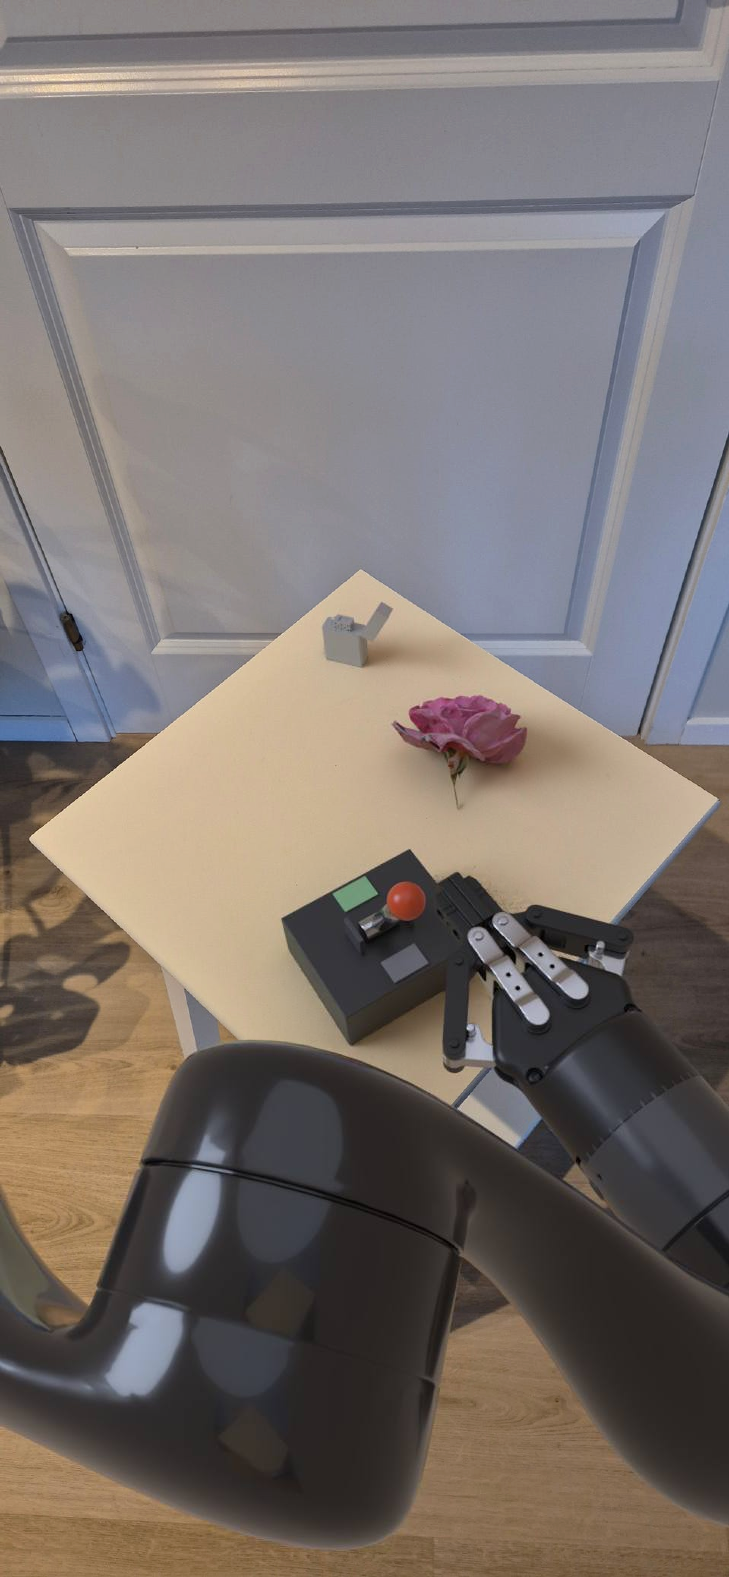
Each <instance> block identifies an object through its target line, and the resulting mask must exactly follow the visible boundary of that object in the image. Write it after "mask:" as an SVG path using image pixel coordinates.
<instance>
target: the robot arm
mask: <svg viewBox="0 0 729 1577" xmlns="http://www.w3.org/2000/svg"><path fill="white" fill-rule="evenodd" d="M434 897H435V911H436V915H437V917H438V918H439V919H440V921H441V922H442V923H443V924H444V926H445V927H446V928H447V929H448V931H449V932H450V933H451V935H452V936H453V937H454V938H455V940H456V941H457V942H458V943H459V945H460V946H461V947H460V948H459V950H458V951H455V952H453V953H451V954H450V955H449V957H448V961H447V977H446V989H445V994H444V1008H443V1010H444V1012H443V1027H442V1039H441V1040H442V1041H441V1043H442V1044H441V1045H442V1046H441V1047H442V1048H441V1049H442V1065H443V1067H444V1069H445V1070H446V1071H447V1072H449V1073H450V1074H458V1073H461V1072H462V1071H463V1070H464V1069H465V1067H470V1068H482V1069H483V1068H484V1069H493V1071H494V1072H495V1074H496V1075H497V1077H498V1078H499V1079H501V1080H502V1081H503V1082H505V1083H508V1084H510V1085H512V1086H513V1087H515V1088H516V1089H518V1090H519V1091H520V1092H521V1094H523V1095H524V1096H525V1098H526V1099H527V1101H528V1102H529V1104H530V1105H531V1106H532V1107H533V1109H534V1110H535V1112H536V1113H537V1114H538V1116H539V1117H540V1118H541V1119H542V1120H543V1122H544V1124H545V1125H546V1126H547V1127H548V1129H549V1130H550V1131H551V1132H552V1134H553V1135H554V1137H555V1138H556V1139H557V1140H558V1142H559V1143H560V1144H561V1146H562V1147H563V1148H564V1150H565V1151H566V1152H567V1154H568V1155H569V1156H570V1157H571V1159H572V1160H573V1161H574V1163H575V1164H576V1165H577V1167H578V1169H580V1172H582V1174H583V1175H584V1176H585V1178H586V1179H587V1180H588V1184H589V1186H590V1187H591V1189H592V1190H593V1192H594V1193H595V1194H596V1195H597V1196H598V1198H599V1199H600V1200H601V1201H602V1202H604V1203H605V1204H606V1206H608V1208H609V1209H610V1210H611V1212H612V1213H611V1212H609V1211H608V1210H607V1209H605V1208H604V1207H603V1206H601V1205H600V1204H599V1203H597V1202H596V1201H594V1200H593V1199H592V1198H590V1197H588V1195H586V1194H585V1193H584V1192H582V1191H580V1189H577V1188H576V1187H575V1186H573V1185H571V1184H570V1183H569V1182H568V1181H566V1180H565V1179H563V1178H561V1177H560V1176H559V1175H556V1174H555V1173H554V1172H552V1171H551V1170H550V1169H547V1168H546V1167H544V1166H543V1165H542V1164H540V1163H538V1162H537V1161H536V1160H534V1159H533V1158H531V1157H530V1156H529V1155H527V1154H526V1153H524V1152H522V1151H521V1150H520V1149H518V1148H516V1147H515V1146H514V1145H513V1144H511V1143H509V1142H507V1141H506V1140H505V1139H503V1138H502V1137H501V1136H498V1135H497V1134H496V1133H494V1132H493V1131H491V1130H490V1129H488V1128H487V1127H485V1126H484V1125H482V1124H481V1123H480V1122H478V1121H476V1120H475V1119H473V1118H472V1117H470V1116H468V1115H467V1114H466V1113H464V1112H463V1111H461V1110H460V1109H458V1108H456V1107H455V1106H453V1105H451V1104H449V1103H448V1102H446V1101H445V1100H443V1099H441V1098H440V1097H438V1096H436V1095H435V1094H433V1093H430V1092H429V1091H427V1090H426V1089H423V1088H421V1087H420V1086H418V1085H416V1084H414V1083H412V1082H410V1081H408V1080H406V1079H403V1078H402V1077H399V1076H397V1075H395V1074H393V1073H391V1072H389V1071H386V1070H384V1069H381V1068H380V1067H377V1066H375V1065H372V1064H369V1063H367V1062H365V1061H363V1060H360V1059H358V1058H354V1057H350V1056H347V1055H344V1054H341V1053H338V1052H335V1051H331V1050H327V1049H322V1048H320V1047H316V1046H312V1045H306V1044H302V1043H301V1044H300V1043H295V1042H290V1041H283V1040H270V1039H239V1040H230V1041H221V1042H218V1043H214V1044H211V1045H207V1046H204V1047H201V1048H199V1049H197V1050H196V1051H193V1053H191V1054H189V1055H188V1056H187V1057H186V1058H185V1059H184V1060H183V1061H182V1062H181V1063H180V1064H179V1066H178V1068H176V1070H175V1071H174V1074H173V1075H172V1077H171V1078H170V1081H169V1083H168V1085H167V1087H166V1090H165V1092H164V1094H163V1097H162V1099H161V1101H160V1103H159V1106H158V1108H157V1112H156V1114H155V1117H154V1119H153V1122H152V1124H151V1128H150V1131H149V1133H148V1136H147V1138H146V1141H145V1143H144V1147H143V1149H142V1153H141V1157H140V1160H139V1162H138V1166H139V1168H137V1169H136V1170H135V1172H134V1175H133V1178H132V1181H131V1183H130V1187H129V1189H128V1193H127V1195H126V1198H125V1201H124V1204H123V1207H122V1209H121V1212H120V1216H119V1218H118V1222H117V1223H116V1227H115V1230H114V1233H113V1236H112V1239H111V1241H110V1243H109V1244H110V1245H109V1248H108V1249H107V1253H106V1256H105V1259H104V1262H103V1264H102V1268H101V1270H100V1273H99V1275H98V1279H97V1282H96V1284H95V1285H96V1289H95V1291H94V1292H93V1297H92V1300H91V1302H90V1303H88V1302H86V1301H85V1300H84V1299H82V1298H81V1297H80V1296H79V1295H78V1294H77V1293H76V1292H74V1291H73V1290H72V1289H71V1288H70V1287H68V1286H67V1285H66V1284H65V1283H64V1282H63V1281H62V1279H61V1278H59V1277H58V1276H57V1274H56V1273H54V1271H53V1270H52V1269H51V1268H50V1267H49V1265H48V1264H47V1262H45V1260H44V1259H43V1258H42V1256H40V1254H39V1253H38V1251H37V1250H36V1248H35V1247H34V1246H33V1244H32V1243H31V1242H30V1240H29V1237H28V1236H27V1234H26V1232H25V1230H24V1229H23V1227H22V1225H21V1223H20V1222H19V1220H18V1218H17V1216H16V1213H15V1212H14V1209H13V1207H12V1205H11V1202H10V1201H9V1198H8V1196H7V1194H6V1192H5V1190H4V1187H3V1185H2V1183H1V1182H0V1426H1V1427H2V1428H5V1429H6V1430H9V1431H11V1432H13V1433H15V1434H17V1435H19V1436H20V1437H23V1438H25V1439H27V1440H28V1441H31V1442H33V1443H35V1444H36V1445H39V1446H41V1447H43V1448H45V1449H47V1450H49V1451H51V1452H53V1453H55V1454H57V1455H59V1456H61V1457H64V1458H66V1459H68V1460H70V1461H72V1462H73V1463H75V1464H78V1465H80V1466H82V1467H84V1468H86V1469H88V1470H90V1471H92V1472H94V1473H96V1474H98V1475H99V1476H102V1477H104V1478H106V1479H108V1480H110V1481H112V1482H114V1483H116V1484H118V1485H120V1486H123V1487H125V1488H127V1489H129V1490H132V1491H135V1492H136V1493H139V1494H141V1495H143V1496H145V1497H148V1498H150V1499H152V1500H154V1501H155V1502H158V1503H161V1504H163V1505H165V1506H168V1507H169V1508H172V1509H174V1510H177V1511H178V1512H181V1513H183V1514H184V1515H188V1516H191V1517H193V1518H196V1519H198V1520H201V1521H203V1522H207V1523H208V1524H211V1525H215V1526H217V1527H221V1528H223V1529H227V1530H229V1531H232V1532H235V1533H238V1534H241V1535H243V1536H246V1537H250V1538H255V1539H258V1540H262V1541H267V1542H270V1543H275V1544H279V1545H284V1546H289V1547H293V1548H299V1549H307V1550H313V1551H314V1550H315V1551H333V1552H335V1551H349V1550H350V1551H351V1550H358V1549H362V1548H366V1547H370V1546H373V1545H377V1544H378V1543H380V1542H383V1541H385V1540H387V1539H388V1538H389V1537H391V1536H392V1535H394V1534H395V1533H396V1532H397V1530H398V1529H399V1528H400V1527H401V1526H402V1525H403V1523H404V1522H405V1521H406V1519H407V1518H408V1516H409V1515H410V1513H411V1511H412V1510H413V1508H414V1504H415V1501H416V1498H417V1495H418V1492H419V1489H420V1486H421V1482H422V1480H423V1476H424V1471H425V1467H426V1462H427V1459H428V1454H429V1450H430V1445H431V1439H432V1435H433V1434H432V1433H433V1428H434V1424H435V1419H436V1415H437V1414H436V1413H437V1408H438V1404H439V1397H440V1392H441V1388H440V1386H439V1385H441V1383H442V1377H443V1373H444V1372H443V1371H444V1365H445V1360H446V1353H447V1348H448V1343H449V1337H450V1332H451V1326H452V1320H453V1316H454V1308H455V1303H456V1298H457V1292H458V1287H459V1280H460V1274H461V1268H462V1258H463V1259H464V1260H466V1261H467V1262H468V1263H470V1265H472V1266H473V1267H474V1268H475V1269H477V1270H478V1271H479V1272H480V1273H482V1274H483V1275H484V1276H485V1277H486V1278H487V1279H488V1280H490V1282H491V1283H492V1284H493V1285H494V1286H495V1287H496V1289H497V1290H499V1292H500V1293H501V1294H502V1295H503V1296H504V1298H505V1299H506V1300H507V1302H509V1303H510V1304H511V1306H512V1307H513V1309H515V1311H516V1312H517V1313H518V1314H519V1316H520V1317H522V1319H523V1321H524V1322H525V1323H526V1325H527V1326H528V1327H529V1329H530V1330H531V1332H532V1333H533V1334H534V1336H535V1337H536V1339H537V1341H539V1343H540V1345H541V1346H542V1347H543V1349H544V1350H545V1351H546V1353H547V1355H548V1356H549V1358H550V1359H551V1361H552V1362H553V1364H554V1366H555V1367H556V1369H557V1370H558V1371H559V1373H560V1375H561V1376H562V1378H563V1379H564V1381H565V1382H566V1384H567V1385H568V1387H569V1388H570V1390H571V1392H572V1394H573V1395H574V1397H575V1398H576V1399H577V1401H578V1403H579V1404H580V1406H581V1407H582V1409H583V1410H584V1411H585V1413H586V1414H587V1416H588V1417H589V1419H590V1420H591V1422H592V1423H593V1425H594V1426H595V1428H596V1429H597V1431H598V1432H599V1434H600V1435H601V1436H602V1438H603V1439H604V1440H605V1441H606V1442H607V1444H608V1446H610V1447H611V1448H612V1450H613V1451H614V1452H615V1453H616V1455H617V1456H618V1457H619V1458H620V1459H621V1461H623V1463H624V1464H625V1465H626V1466H627V1467H628V1468H629V1469H630V1470H631V1471H632V1472H633V1473H634V1474H635V1476H636V1477H638V1478H639V1479H640V1480H641V1481H642V1482H643V1483H645V1484H646V1485H647V1486H648V1487H649V1488H651V1489H652V1490H654V1492H656V1493H657V1494H658V1495H660V1496H661V1497H662V1498H663V1499H665V1500H666V1501H667V1502H669V1503H671V1504H673V1505H674V1506H676V1507H677V1508H679V1509H681V1510H682V1511H684V1512H687V1513H689V1514H691V1515H694V1516H696V1517H698V1518H700V1519H702V1520H705V1521H707V1522H709V1523H713V1524H714V1525H717V1526H721V1527H725V1528H728V1529H729V1105H728V1104H727V1103H726V1102H725V1101H724V1099H722V1098H721V1096H720V1095H719V1094H718V1093H717V1092H716V1091H715V1089H714V1088H712V1086H711V1085H710V1084H709V1083H708V1082H707V1081H706V1079H705V1078H704V1077H703V1076H702V1075H701V1074H700V1073H699V1071H698V1070H697V1069H696V1068H695V1067H694V1066H693V1065H692V1064H691V1063H690V1061H689V1060H688V1059H687V1058H686V1057H685V1056H684V1054H683V1053H681V1051H680V1050H679V1049H678V1048H677V1047H676V1045H674V1043H673V1042H672V1041H671V1040H670V1039H669V1038H668V1037H667V1036H666V1034H665V1033H664V1032H663V1031H662V1030H661V1028H659V1027H658V1026H657V1024H656V1023H655V1022H654V1021H653V1020H652V1018H650V1016H648V1014H647V1013H645V1012H644V1011H643V1010H641V1009H640V1008H639V1007H638V1005H637V1004H636V1002H635V1000H634V998H633V997H634V996H633V994H632V989H631V986H630V984H629V983H628V981H627V980H626V979H625V978H624V977H623V973H624V968H625V966H626V965H627V963H628V960H629V957H630V953H631V951H632V947H633V942H634V939H635V938H634V934H633V932H632V930H631V929H629V928H627V927H625V926H621V925H618V924H613V923H609V922H605V921H602V920H599V919H595V918H594V919H593V918H591V917H587V916H583V915H580V914H575V913H571V912H567V911H564V910H559V909H555V908H552V907H548V906H545V905H540V904H531V905H529V906H528V907H527V908H526V909H525V910H524V911H520V912H514V913H513V912H512V913H511V912H508V911H505V910H503V909H502V907H500V905H499V904H498V903H497V902H496V901H495V899H494V898H493V897H492V896H491V894H490V893H489V892H488V890H486V889H485V887H483V885H482V884H481V882H479V880H478V879H476V878H474V877H473V876H471V875H467V876H465V877H464V876H463V875H462V874H461V873H460V872H459V871H455V872H453V873H452V874H450V875H448V876H447V877H445V878H443V879H441V880H440V881H438V882H436V895H435V896H434ZM553 951H555V952H558V953H562V954H566V955H569V956H573V957H576V958H580V959H583V960H586V961H587V963H583V962H580V961H577V960H574V959H571V958H567V957H565V956H559V955H556V953H554V952H553ZM475 975H477V977H478V978H479V980H480V981H481V983H482V984H483V986H484V989H485V992H486V993H487V995H488V997H489V999H490V1000H491V1043H489V1042H488V1041H486V1040H485V1039H484V1036H483V1031H482V1028H481V1027H480V1026H479V1025H478V1024H477V1023H476V1022H475V1023H474V1022H469V1020H468V1019H469V998H470V982H471V981H472V980H473V978H474V977H475Z"/></svg>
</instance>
